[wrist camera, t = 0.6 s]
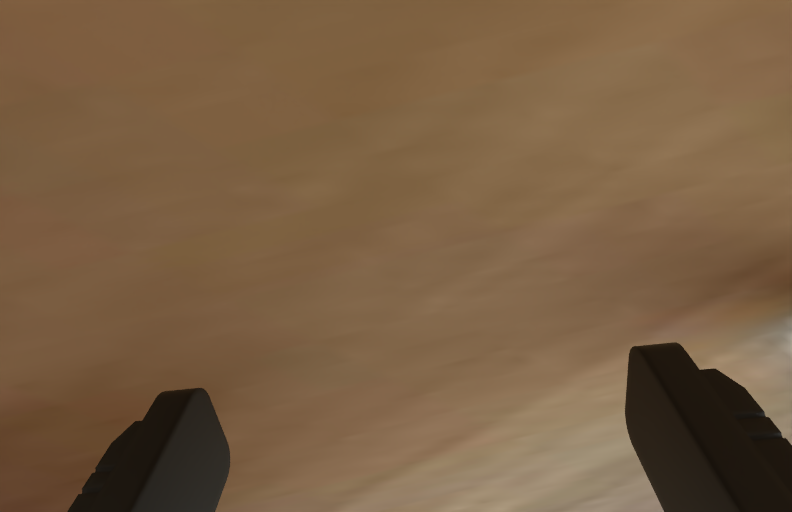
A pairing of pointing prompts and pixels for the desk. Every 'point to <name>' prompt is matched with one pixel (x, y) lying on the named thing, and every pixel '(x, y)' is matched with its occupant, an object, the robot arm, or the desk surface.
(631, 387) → the robot arm
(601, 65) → the desk surface
